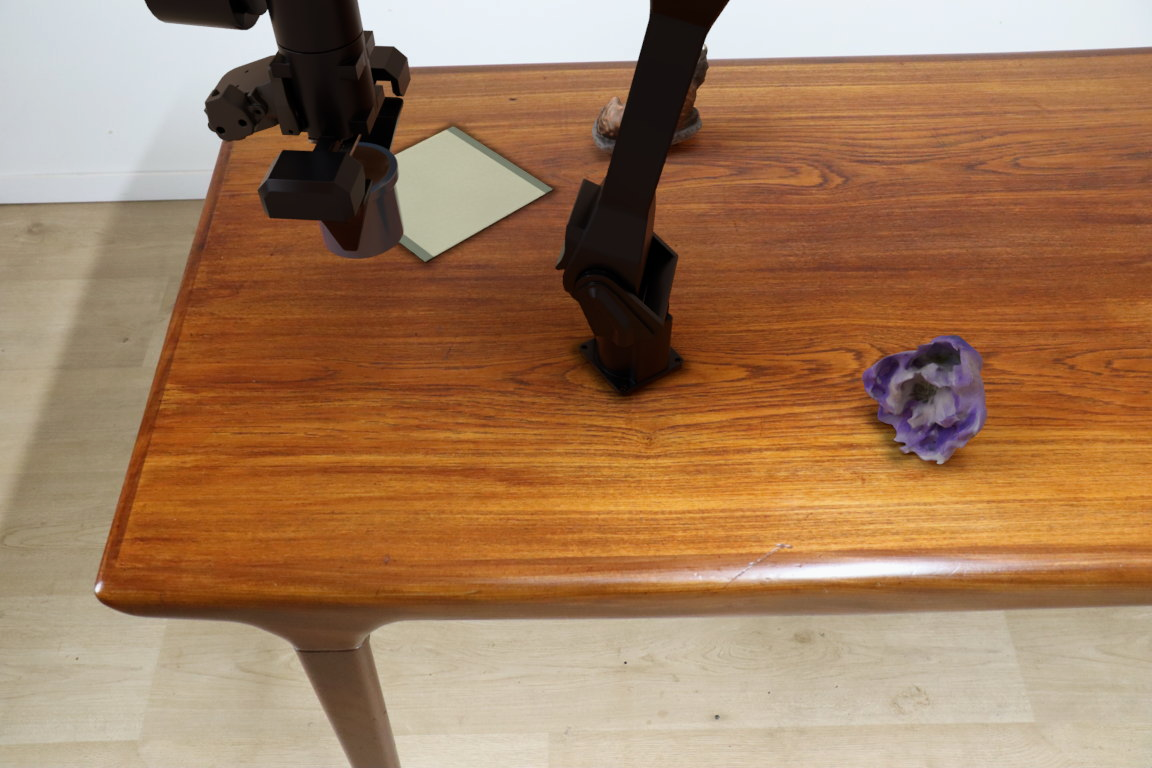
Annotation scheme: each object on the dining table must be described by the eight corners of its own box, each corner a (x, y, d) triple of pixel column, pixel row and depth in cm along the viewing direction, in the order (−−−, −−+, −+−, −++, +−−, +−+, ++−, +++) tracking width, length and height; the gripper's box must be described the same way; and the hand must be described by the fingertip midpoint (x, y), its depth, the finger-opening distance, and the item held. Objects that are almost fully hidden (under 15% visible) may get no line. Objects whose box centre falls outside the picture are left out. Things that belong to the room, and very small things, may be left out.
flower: (938, 290, 74) (926, 321, 66) (1022, 366, 73) (1020, 407, 65) (854, 368, 79) (832, 407, 70) (931, 441, 78) (919, 488, 69)
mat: (552, 189, 95) (552, 189, 95) (425, 262, 88) (425, 261, 88) (453, 126, 103) (453, 126, 103) (328, 188, 96) (328, 187, 96)
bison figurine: (602, 170, 97) (603, 81, 90) (582, 134, 102) (582, 45, 94) (711, 150, 99) (721, 61, 92) (687, 115, 104) (695, 28, 96)
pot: (425, 239, 74) (414, 174, 70) (341, 274, 71) (324, 209, 67) (383, 194, 78) (371, 130, 74) (302, 226, 75) (284, 161, 71)
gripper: (247, -33, 69) (296, 150, 81) (145, 103, 57) (221, 296, 68) (396, -29, 69) (424, 155, 80) (326, 110, 56) (372, 304, 68)
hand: (361, 221), depth 74 cm, fingers closed on pot, 6 cm apart
